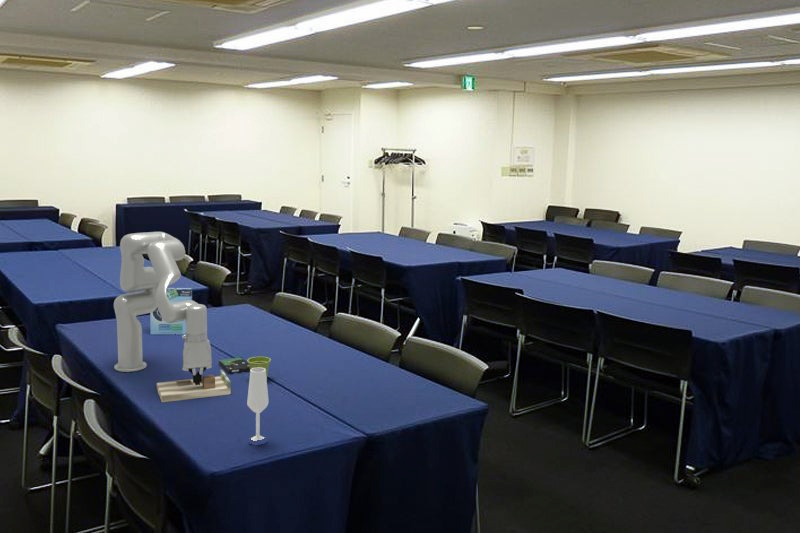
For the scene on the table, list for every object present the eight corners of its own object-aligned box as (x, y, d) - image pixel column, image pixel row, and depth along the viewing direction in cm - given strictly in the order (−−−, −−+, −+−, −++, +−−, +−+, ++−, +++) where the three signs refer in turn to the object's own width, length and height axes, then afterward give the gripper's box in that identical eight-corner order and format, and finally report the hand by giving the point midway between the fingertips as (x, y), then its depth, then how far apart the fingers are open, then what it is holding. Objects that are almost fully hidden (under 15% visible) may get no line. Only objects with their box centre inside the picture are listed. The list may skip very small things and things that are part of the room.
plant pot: (242, 382, 272) (242, 361, 271) (255, 375, 281) (255, 355, 279) (262, 385, 269) (262, 364, 268) (275, 378, 278) (275, 358, 276)
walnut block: (202, 385, 259) (202, 375, 258) (213, 384, 261) (213, 374, 260) (204, 389, 255) (204, 378, 255) (215, 387, 257) (215, 377, 256)
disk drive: (252, 372, 286) (241, 362, 298) (252, 366, 285) (241, 356, 298) (228, 376, 280) (218, 365, 293) (228, 369, 280) (218, 359, 292)
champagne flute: (242, 443, 216) (242, 371, 212) (254, 435, 222) (254, 365, 218) (261, 447, 214) (261, 374, 210) (272, 439, 220) (272, 368, 216)
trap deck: (156, 389, 261) (156, 376, 260) (222, 381, 271) (222, 369, 271) (161, 402, 247) (161, 389, 246) (230, 394, 258) (230, 381, 257)
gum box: (150, 334, 333) (149, 289, 330) (152, 332, 338) (151, 287, 335) (191, 334, 337) (190, 289, 333) (192, 332, 342) (192, 287, 338)
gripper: (177, 341, 247) (178, 389, 250) (218, 338, 254) (219, 384, 257) (174, 336, 254) (175, 383, 257) (215, 333, 260) (215, 378, 263)
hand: (197, 383), depth 257 cm, fingers closed
